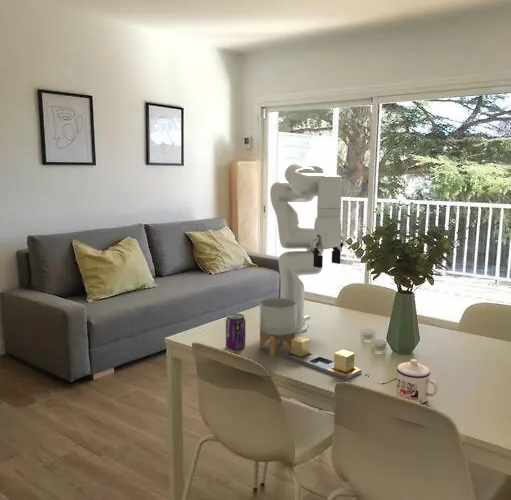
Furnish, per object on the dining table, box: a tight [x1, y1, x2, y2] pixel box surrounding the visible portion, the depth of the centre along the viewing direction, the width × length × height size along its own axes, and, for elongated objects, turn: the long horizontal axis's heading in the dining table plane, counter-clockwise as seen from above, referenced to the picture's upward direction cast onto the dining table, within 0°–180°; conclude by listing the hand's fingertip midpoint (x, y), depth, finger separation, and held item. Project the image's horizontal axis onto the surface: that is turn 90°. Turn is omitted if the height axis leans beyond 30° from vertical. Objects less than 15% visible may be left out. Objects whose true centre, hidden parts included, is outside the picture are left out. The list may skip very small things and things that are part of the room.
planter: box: [259, 297, 297, 357], centre depth 181 cm, size 13×13×18 cm
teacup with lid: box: [395, 358, 439, 404], centre depth 145 cm, size 12×9×12 cm
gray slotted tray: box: [283, 350, 362, 381], centre depth 169 cm, size 8×26×2 cm, turn 45°
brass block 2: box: [333, 349, 355, 374], centre depth 163 cm, size 4×4×6 cm
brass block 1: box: [290, 335, 311, 359], centre depth 175 cm, size 4×4×6 cm
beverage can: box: [225, 313, 246, 351], centre depth 184 cm, size 7×7×12 cm
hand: (327, 265), depth 168 cm, fingers open, 9 cm apart
